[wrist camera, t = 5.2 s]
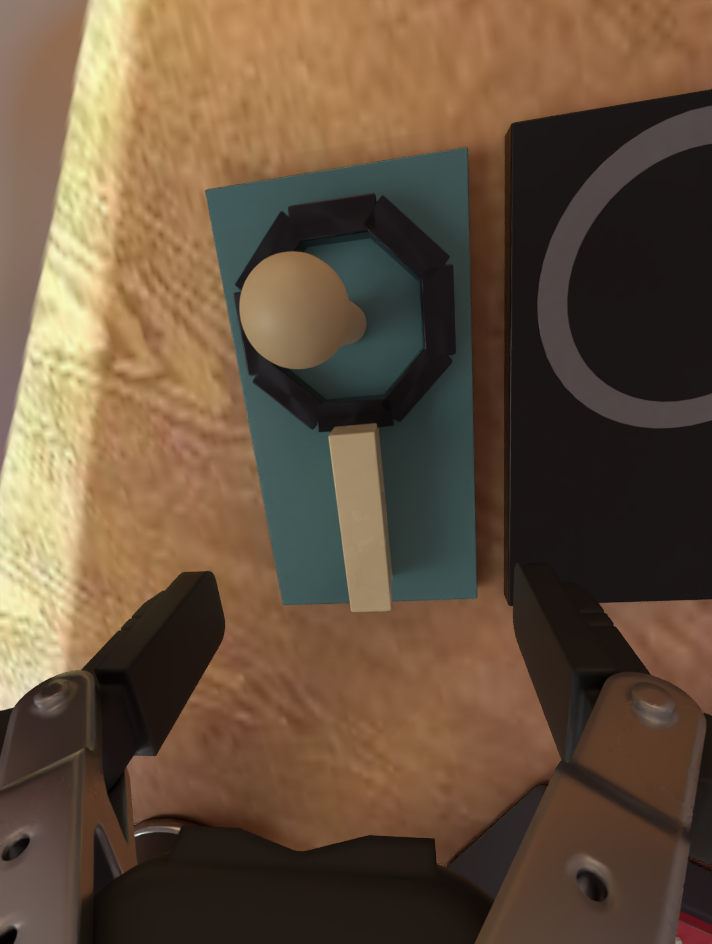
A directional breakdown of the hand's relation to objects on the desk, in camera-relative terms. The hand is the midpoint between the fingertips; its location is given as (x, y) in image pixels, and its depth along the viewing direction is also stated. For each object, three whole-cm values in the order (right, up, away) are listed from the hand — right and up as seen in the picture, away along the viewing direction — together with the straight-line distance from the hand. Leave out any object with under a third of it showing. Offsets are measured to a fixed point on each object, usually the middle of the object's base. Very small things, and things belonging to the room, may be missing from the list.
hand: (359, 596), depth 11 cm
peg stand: (0, +6, +8) cm, 10 cm away
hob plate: (+13, +7, +7) cm, 16 cm away
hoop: (0, +6, +7) cm, 9 cm away
